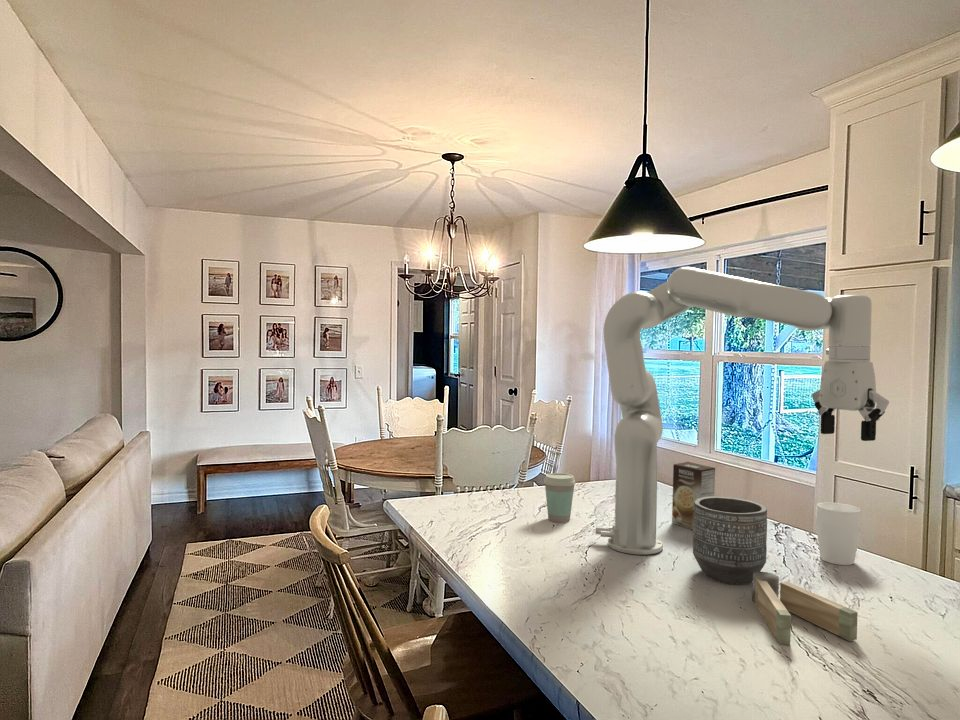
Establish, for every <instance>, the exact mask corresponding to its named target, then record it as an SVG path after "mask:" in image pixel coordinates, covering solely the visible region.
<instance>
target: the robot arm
mask: <svg viewBox="0 0 960 720" xmlns="http://www.w3.org/2000/svg"><path fill="white" fill-rule="evenodd" d="M692 307H693V308H698V309H701V310H702V309H703V310H707V311H711V312H716V313H719V314H724V315H728V316H731V317H736V318H747V319H748V318H750V319H760V320H764V321H768V322H775V323H779V324H783V325H787V326H792V327H795V328H796V329H798V330H801V331H806V332H808V331H809V332H810V331H817V330H825V329H828V348H827V349H826V350H825V354H826V355H827V356H828V358H827V359H828V360H825V361H824V364H823V366H822V372H821V378H820V379H821V380H820V385H819V390H817V391H815V392H813V393H812V394H811V397H812V400H813V403H814V407H815V408H816V410H817V413H818V415H819V416H820V434H822V435H831V434H833V435H834V434H835V429H836V428H835V424H836V423H835V419H836V417H835V414H833V413H834V412H835V411H836V410H843V411H854V412H856V411H858V412H859V414H860V416H861V417H862V418H863V420H861V423H860V424H861V425H860V440H861V441H862V442H869V441H870V442H871V441H873V442H875V440H876V437H877V436H876V435H877V422H878V421H880V418H881V417H882V416H883V415H884V414H885V413H886V410H887V408H888V406H889V404H890V401H889V400H888V399H887V398H886V397H884V396H883V395H881V394H880V393H878V392H877V386H876V385H877V384H876V382H877V381H876V376H875V375H876V374H875V368H874V364H873V362H872V361H871V343H872V342H871V341H872V339H871V338H872V311H873V310H872V308H873V306H872V300H871V297H869V296H868V295H864V294H841V295H836V296H833V297H825V296H823V295H821V294H820V293H818V292H817V293H816V292H813V291H807V290H803V289H798V288H793V287H789V286H783V285H778V284H773V283H769V282H762V281H759V280H754V279H750V278H745V277H741V276H734V275H729V274H725V273H721V272H715V271H711V270H706V269H701V268H696V267H691V266H682V267H679V268H676V269H675V270H673V272H671V274H670V275H669V276H668V279H667V281H665V282H663V283H662V284H660V285H658V286H656V287H654V288H652V289H650V290H649V291H647V292H645V291H641V290H639V291H638V290H637V291H632V292H631V291H630V292H629V293H626V294H625V295H623V296H622V297H620V298H619V299H618V300H616V301H615V303H613V304H612V306H611V307H610V309H609V310H608V312H607V314H606V317H605V320H604V324H603V342H604V350H605V356H606V364H607V371H608V379H609V385H610V392H611V393H610V394H611V396H612V398H613V400H614V401H615V403H617V404H618V405H619V406H620V413H621V417H622V419H620V420H619V422H618V424H617V425H616V427H615V431H614V436H613V437H614V439H613V440H614V455H615V457H614V458H615V492H614V493H615V496H614V497H615V499H614V501H615V502H614V503H615V504H614V505H615V506H614V507H615V508H614V522H613V523H612V524H613V525H608V526H607V527H606V526H605V527H604V526H597V525H595V535H597V536H598V535H599V536H600V537H602V538H608V539H607V545H608V546H609V547H610V548H611V549H612V550H614V551H617V552H620V553H625V554H630V555H641V556H643V555H654V554H658V553H660V552H661V551H663V549H664V548H663V547H664V544H663V542H662V541H661V540H660V539H658V538H657V509H658V507H657V506H658V505H657V502H658V449H657V448H658V443H659V441H660V440H661V438H662V436H663V431H664V430H663V426H664V425H663V419H662V414H661V408H660V407H661V406H660V402H659V401H660V400H659V395H658V390H657V389H658V388H657V383H656V381H655V378H654V376H653V374H652V373H651V372H650V371H648V370H647V368H646V364H645V359H644V351H643V345H642V342H641V341H642V340H641V332H642V330H647V329H652V328H654V327H657V326H658V325H661V324H662V323H664V322H666V321H668V320H669V319H671V318H674V317H676V316H677V315H680V314H681V313H683V312H685V311H687V310H689V309H691V308H692Z"/></svg>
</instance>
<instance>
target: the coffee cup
mask: <svg viewBox="0 0 960 720" xmlns="http://www.w3.org/2000/svg"><path fill="white" fill-rule="evenodd" d="M543 480H544V481H543V483H544V487H545V498H546V509H547V518H548V520H549V521H550V522H552V523H562V524H563V523H567V522H569V521H570V520H571V514H572V506H573V498H574V490H575V485H576V480H575V477H574V475H572V474H570V473H564V472H552V473H547V474H546V475H545V478H544V479H543Z"/></svg>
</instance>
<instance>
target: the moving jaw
mask: <svg viewBox="0 0 960 720" xmlns="http://www.w3.org/2000/svg"><path fill="white" fill-rule="evenodd" d="M779 584H780V587H779V599H780V601H781V602H782V604H783V605H784V606H785V608H786V609H787V611H788V612H789V613H790V614H791V613H792V614H794V615H795V616H798V617H799V618H802V619H804V620H806V621H808V622H810V623H812V624H813V625H816V626H818V627H820V628H822V629H823V630H824V629H825V630H827V631H829V632H830V633H832V634H835V635H837V636H839V637H840V638H842V639H844V640H846V641H849V642H852V641H855V640H858V611H856V610H854V609H851V608H848V607H847V606H844V605H843V604H839V603H837V602H835V601H833V600H832V599H831V600H830V599H828V598H827V597H823V596H822V595H819V594H816V593H815V592H812V591H810V590H808V589H806V588H804V587H801V586H799V585H796V584H794V583H792V582H789V581H782V582H780V583H779Z"/></svg>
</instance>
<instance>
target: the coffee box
mask: <svg viewBox="0 0 960 720" xmlns="http://www.w3.org/2000/svg"><path fill="white" fill-rule="evenodd" d="M672 473H673V474H672V476H673V477H672V503H671V504H672V505H671V508H672V510H671V513H672V514H671V523H672V524H674V525H677V526H681V527H683V528H687V529H690V530H693V524H694V501H695V500H696V499H698V498H701V497H708V496H715V486H716V485H715V484H716V482H715V481H716V467H712V466H709V465H704V464H700V463H696V462H695V463H694V462H690V461H685V462H679V463H673V472H672Z"/></svg>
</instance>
